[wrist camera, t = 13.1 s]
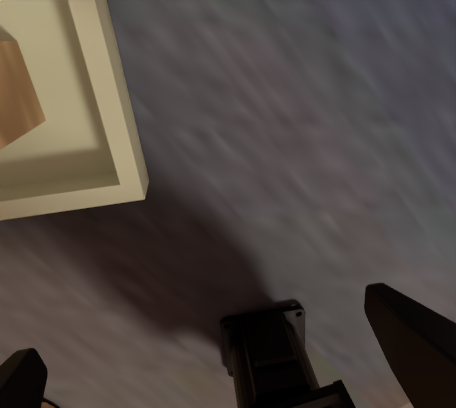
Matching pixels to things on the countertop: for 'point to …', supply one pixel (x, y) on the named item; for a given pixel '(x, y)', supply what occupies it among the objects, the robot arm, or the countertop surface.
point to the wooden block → (16, 96)
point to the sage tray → (70, 113)
